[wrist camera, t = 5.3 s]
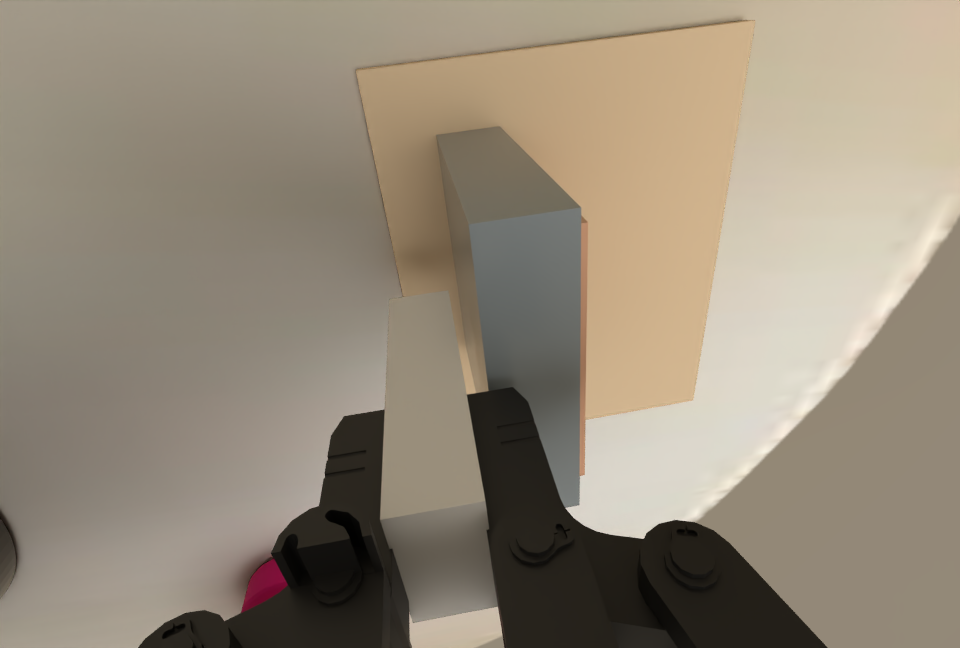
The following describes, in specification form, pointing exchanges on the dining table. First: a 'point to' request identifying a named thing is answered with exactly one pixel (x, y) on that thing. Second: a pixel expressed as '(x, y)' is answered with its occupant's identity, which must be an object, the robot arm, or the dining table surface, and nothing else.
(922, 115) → the dining table surface
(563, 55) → the mat
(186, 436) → the dining table surface
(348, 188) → the dining table surface
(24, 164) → the dining table surface
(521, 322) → the tile
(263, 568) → the pepper mill
